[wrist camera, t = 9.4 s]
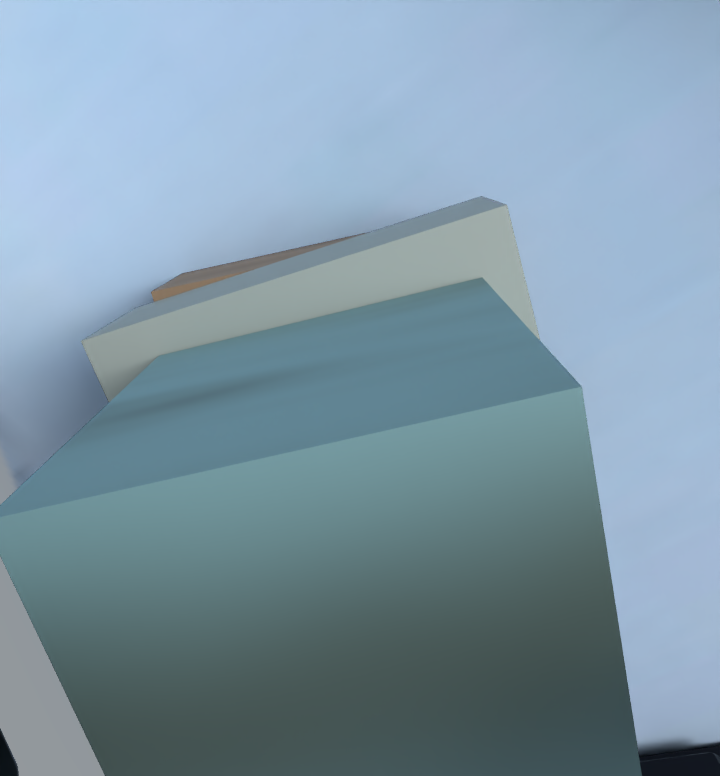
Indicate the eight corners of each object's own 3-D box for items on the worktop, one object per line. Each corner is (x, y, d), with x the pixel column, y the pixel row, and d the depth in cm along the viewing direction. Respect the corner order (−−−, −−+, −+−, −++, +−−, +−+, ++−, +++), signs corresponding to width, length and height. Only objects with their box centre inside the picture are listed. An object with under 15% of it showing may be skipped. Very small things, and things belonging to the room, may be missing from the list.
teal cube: (537, 565, 14) (653, 850, 8) (253, 622, 14) (176, 927, 9) (482, 277, 12) (582, 386, 6) (158, 355, 13) (-16, 520, 7)
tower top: (563, 518, 17) (601, 590, 14) (258, 597, 18) (236, 681, 15) (481, 196, 15) (506, 204, 12) (135, 308, 15) (81, 341, 13)
